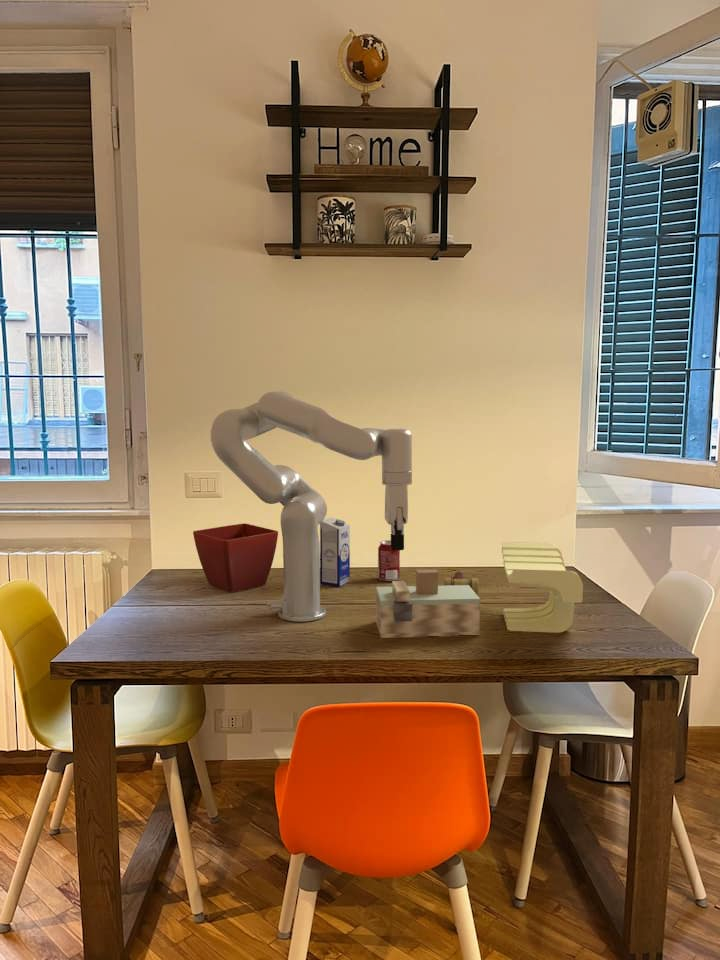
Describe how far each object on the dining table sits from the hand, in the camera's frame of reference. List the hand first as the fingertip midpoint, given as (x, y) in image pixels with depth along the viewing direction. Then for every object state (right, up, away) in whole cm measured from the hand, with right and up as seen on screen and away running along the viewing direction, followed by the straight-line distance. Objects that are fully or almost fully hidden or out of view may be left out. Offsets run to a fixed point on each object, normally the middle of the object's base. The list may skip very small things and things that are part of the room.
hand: (397, 549), depth 180 cm
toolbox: (+7, -20, -5) cm, 21 cm away
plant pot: (-47, -15, +35) cm, 61 cm away
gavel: (+21, -15, +37) cm, 45 cm away
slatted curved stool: (+36, -19, +1) cm, 41 cm away
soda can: (-1, -14, +42) cm, 44 cm away
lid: (+7, -12, -4) cm, 14 cm away
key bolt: (0, -11, -9) cm, 14 cm away
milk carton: (-17, -14, +38) cm, 44 cm away
